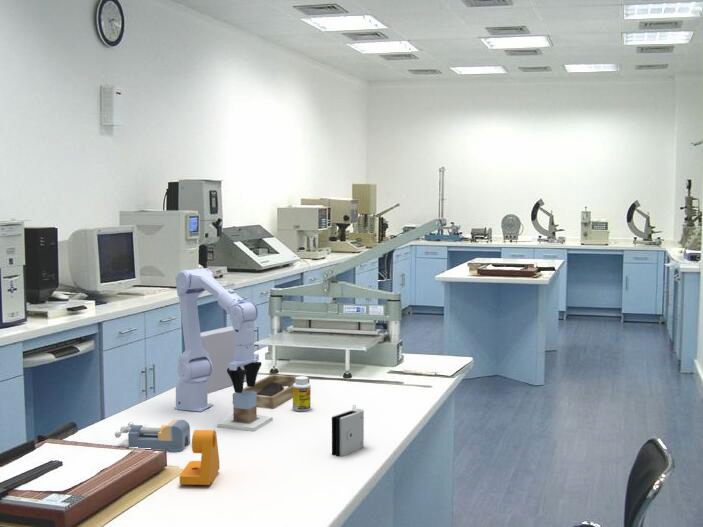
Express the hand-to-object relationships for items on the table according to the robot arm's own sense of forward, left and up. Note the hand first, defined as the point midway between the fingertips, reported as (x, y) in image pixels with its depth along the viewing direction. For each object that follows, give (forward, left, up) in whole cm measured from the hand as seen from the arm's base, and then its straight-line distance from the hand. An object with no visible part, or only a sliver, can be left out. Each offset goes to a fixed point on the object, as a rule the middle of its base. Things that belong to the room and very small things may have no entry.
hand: (244, 389), depth 236 cm
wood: (-8, +33, -11) cm, 35 cm away
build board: (0, 0, -10) cm, 10 cm away
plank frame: (-7, +32, -10) cm, 34 cm away
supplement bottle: (+9, +20, -10) cm, 24 cm away
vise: (-13, -27, -11) cm, 32 cm away
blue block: (0, 0, -5) cm, 5 cm away
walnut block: (0, 0, -9) cm, 9 cm away
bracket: (+11, -44, -10) cm, 47 cm away
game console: (-29, +38, -10) cm, 49 cm away
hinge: (+36, -10, -10) cm, 39 cm away
